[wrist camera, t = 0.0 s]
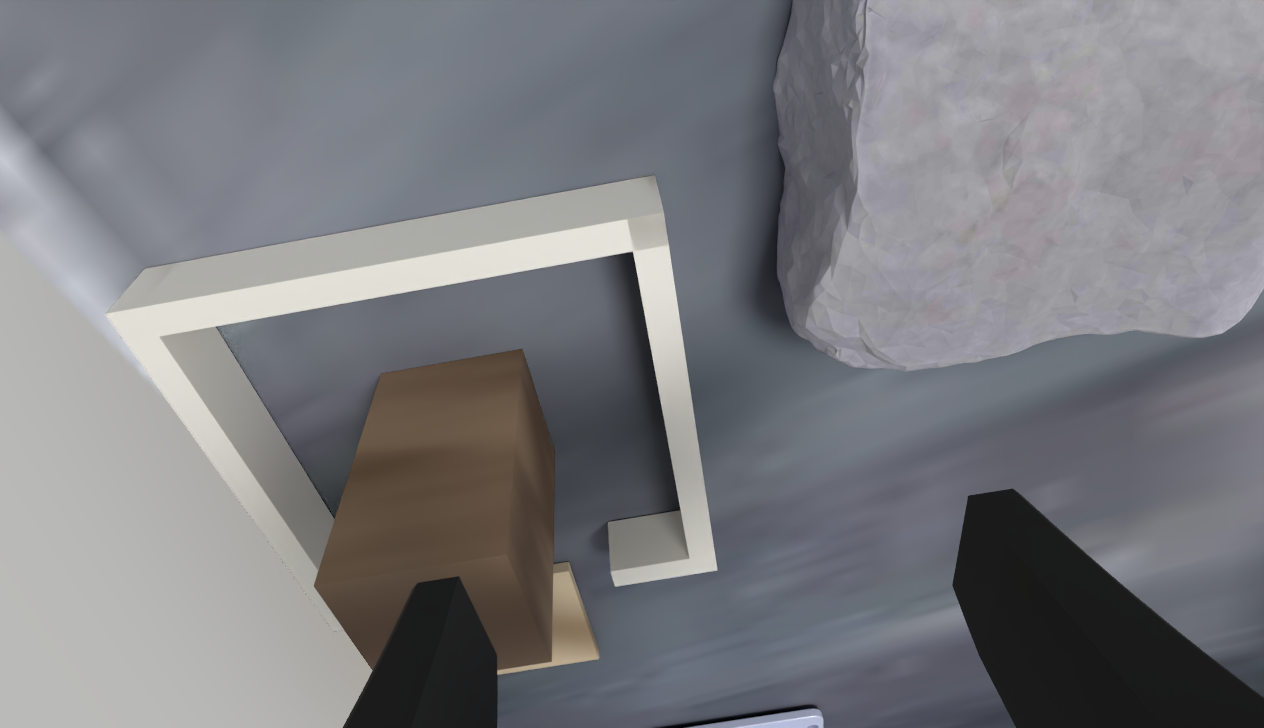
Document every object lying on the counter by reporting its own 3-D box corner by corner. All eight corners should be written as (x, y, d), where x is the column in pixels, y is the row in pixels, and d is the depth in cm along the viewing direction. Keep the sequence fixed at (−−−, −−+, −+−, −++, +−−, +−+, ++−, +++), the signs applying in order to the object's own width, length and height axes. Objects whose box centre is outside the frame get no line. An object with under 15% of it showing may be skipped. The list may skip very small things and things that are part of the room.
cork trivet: (599, 649, 29) (599, 658, 29) (460, 671, 30) (459, 680, 29) (568, 561, 26) (568, 571, 26) (412, 587, 26) (410, 597, 26)
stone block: (754, -94, 16) (761, 328, 21) (826, -130, 12) (816, 413, 16) (1277, -145, 17) (1176, 277, 21) (1527, -197, 12) (1335, 347, 17)
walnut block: (555, 451, 23) (552, 661, 17) (428, 473, 23) (384, 688, 18) (522, 349, 21) (506, 554, 15) (381, 373, 21) (313, 585, 15)
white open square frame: (707, 521, 25) (717, 570, 24) (347, 580, 26) (333, 632, 24) (654, 174, 18) (663, 212, 16) (144, 268, 18) (104, 314, 17)
